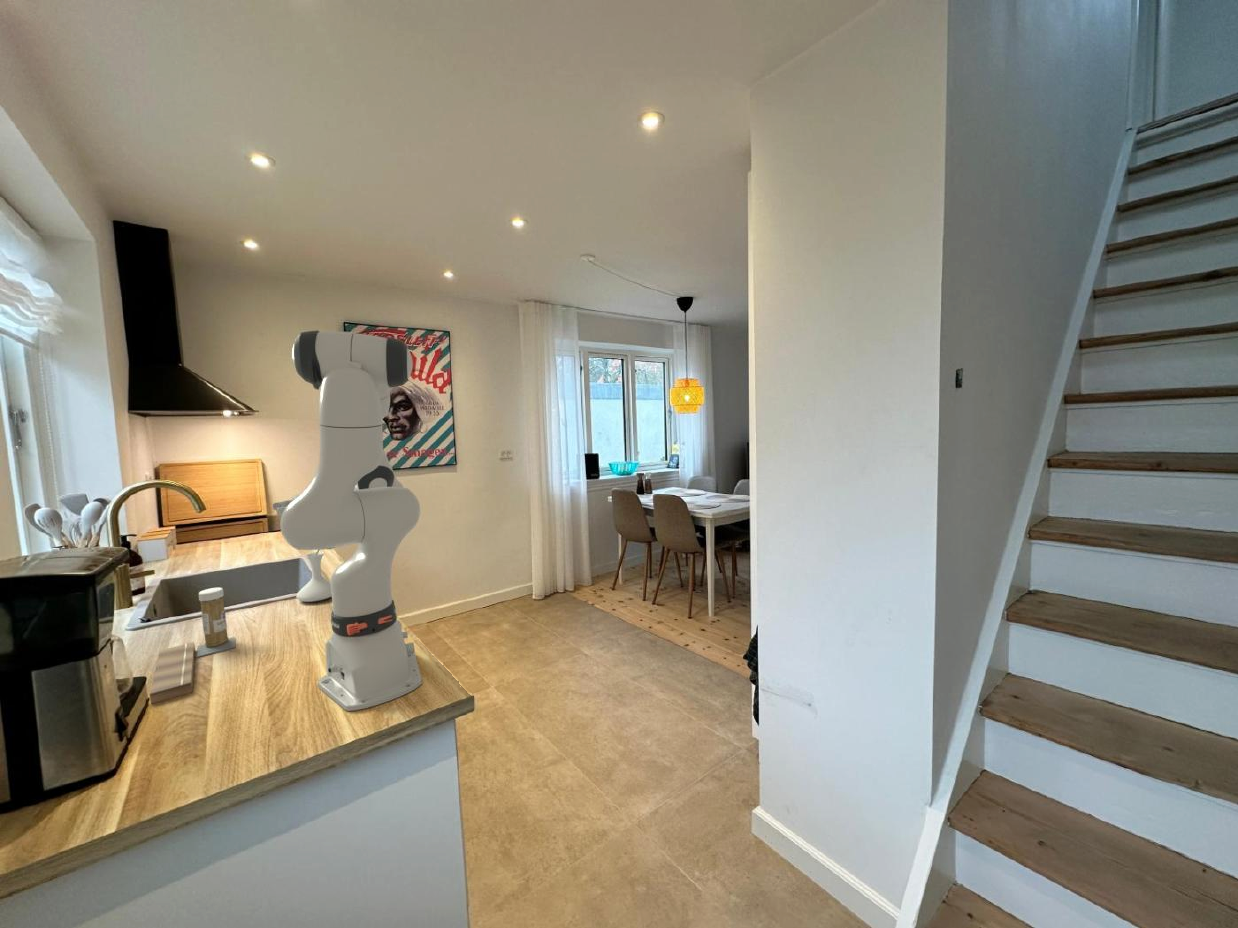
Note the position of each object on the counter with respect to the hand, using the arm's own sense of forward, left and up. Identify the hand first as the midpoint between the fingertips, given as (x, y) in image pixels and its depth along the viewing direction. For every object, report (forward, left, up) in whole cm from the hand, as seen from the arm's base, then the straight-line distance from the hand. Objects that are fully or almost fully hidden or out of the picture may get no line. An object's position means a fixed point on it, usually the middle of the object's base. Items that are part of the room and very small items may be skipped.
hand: (274, 509), depth 122 cm
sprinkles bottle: (+4, +14, -32) cm, 35 cm away
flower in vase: (+22, -11, -32) cm, 41 cm away
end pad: (+2, +14, -32) cm, 35 cm away
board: (-8, +21, -32) cm, 39 cm away
